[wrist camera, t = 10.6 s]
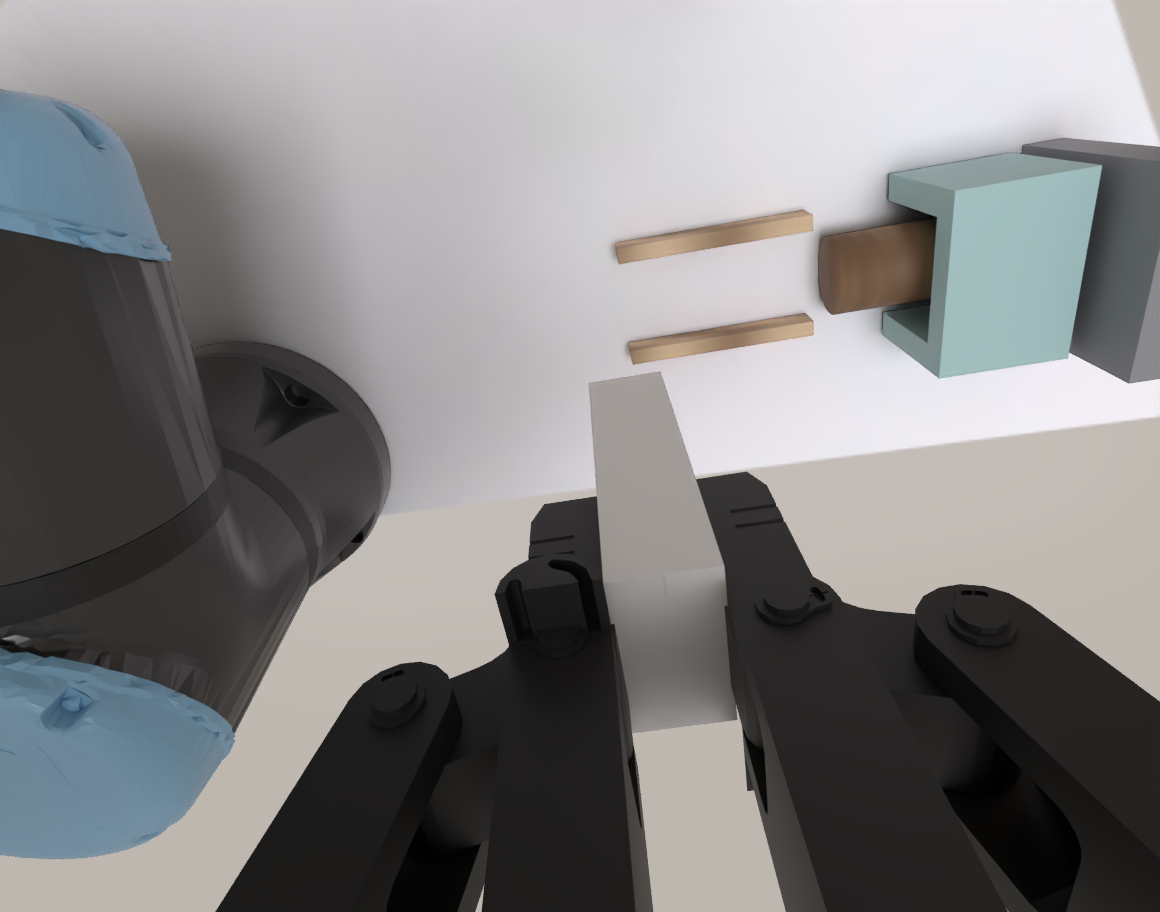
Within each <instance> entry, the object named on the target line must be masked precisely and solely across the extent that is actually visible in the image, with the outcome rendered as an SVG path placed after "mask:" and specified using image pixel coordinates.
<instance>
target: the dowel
mask: <svg viewBox="0 0 1160 912" xmlns="http://www.w3.org/2000/svg"><path fill="white" fill-rule="evenodd" d="M936 226H937V218H931V219H925V220H919V221H913V222H908V223H902V224H896V225H890V226H884V227H878V228H873V229H867V230H861V231H855V232H849V233H843V234H838V235H832V236H826V237H825V238H824V239H823V240H822V242H821V244H820V248H819V252H818V283H819V289H820V294H821V297H822V301H823V303H824V306H825V308H826V309H827V311H828V312H829V313H830V314H832V315H834V314H841V313H847V312H853V311H859V310H865V309H871V308H877V307H883V306H889V305H895V304H902V303H908V302H914V301H920V300H926V299H931V292H932V278H933V265H934V252H935V239H936Z"/></svg>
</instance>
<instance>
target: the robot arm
mask: <svg viewBox="0 0 1160 912" xmlns="http://www.w3.org/2000/svg"><path fill="white" fill-rule="evenodd" d="M168 261H172V258H171V252H170V250H169V247H168V246H167V245H166V244H164V243H163V242H162V241H161V239H160V236H159V234H158V231H157V228H156V225H155V222H154V219H153V217H152V214H151V211H150V208H149V205H148V203H147V200H146V197H145V194H144V191H143V189H142V186H141V183H140V180H139V177H138V174H137V171H136V168H135V165H134V162H133V159H132V157H131V155H130V153H129V151H128V149H127V147H126V146H125V144H124V143H123V141H122V140H121V138H120V137H119V136H118V135H117V134H116V133H115V131H114V130H113V129H112V128H111V127H109V126H108V125H107V124H106V123H105V122H103V121H102V120H101V119H100V118H98V117H97V116H95V115H94V114H92V113H91V112H89V111H87V110H85V109H83V108H81V107H79V106H77V105H74V104H71V103H69V102H66V101H63V100H59V99H55V98H50V97H45V96H39V95H33V94H27V93H21V92H15V91H8V90H1V89H0V855H6V856H14V857H23V858H38V859H76V858H86V857H95V856H100V855H105V854H110V853H115V852H120V851H123V850H127V849H130V848H133V847H135V846H138V845H141V844H143V843H145V842H147V841H149V840H151V839H152V838H154V837H156V836H158V835H160V834H161V833H162V832H163V831H165V830H166V829H167V828H168V827H169V826H171V825H172V824H174V823H176V822H177V821H179V820H180V819H181V818H182V817H183V816H184V815H185V814H186V813H187V811H188V810H189V809H190V808H191V807H192V805H193V804H194V802H195V801H196V799H197V798H198V796H199V794H200V793H201V792H202V790H203V788H204V787H205V785H206V784H207V782H208V781H209V779H210V778H211V776H212V775H213V773H214V772H215V770H216V769H217V767H218V766H219V764H220V763H221V761H222V760H223V759H224V758H225V757H226V756H227V755H228V754H229V752H230V750H231V748H232V746H233V744H234V742H235V740H234V739H233V738H234V737H235V735H234V734H235V732H236V730H237V728H238V726H239V724H240V722H241V720H242V718H243V716H244V714H245V712H246V710H247V708H248V706H249V704H250V702H251V701H252V698H253V697H254V695H255V693H256V691H257V689H258V687H259V685H260V683H261V681H262V679H263V677H264V675H265V673H266V671H267V669H268V667H269V665H270V663H271V661H272V659H273V657H274V655H275V654H276V652H277V650H278V648H279V646H280V644H281V642H282V640H283V638H284V636H285V634H286V632H287V630H288V628H289V626H290V624H291V622H292V620H293V618H294V616H295V614H296V612H297V610H298V609H299V607H300V605H301V603H302V601H303V599H304V597H305V595H306V593H307V591H308V589H309V587H310V586H311V585H313V584H314V583H315V582H317V581H318V580H319V579H321V578H322V577H323V576H324V575H326V574H327V573H328V572H330V571H331V570H332V569H333V568H335V567H336V566H337V565H339V564H340V563H341V562H342V561H344V560H345V559H347V558H348V557H349V556H350V555H351V554H353V553H354V552H355V551H356V550H357V549H358V548H359V547H360V546H361V545H362V543H363V542H364V541H365V540H366V538H367V537H368V536H369V534H370V533H371V531H372V529H373V528H374V526H375V524H376V522H377V519H378V517H379V515H380V513H381V511H382V508H383V506H384V504H385V501H386V498H387V495H388V491H389V485H390V460H389V454H388V449H387V446H386V443H385V440H384V437H383V434H382V432H381V430H380V428H379V425H378V424H377V422H376V420H375V418H374V416H373V415H372V413H371V412H370V410H369V409H368V408H367V406H366V405H365V404H364V402H363V401H362V400H361V399H360V398H359V396H358V395H357V394H356V393H355V392H354V391H353V390H352V389H351V388H350V387H349V386H348V385H347V384H345V383H344V382H343V381H342V380H341V379H340V378H338V377H337V376H336V375H334V374H333V373H332V372H330V371H329V370H327V369H326V368H324V367H322V366H321V365H319V364H317V363H316V362H314V361H312V360H310V359H308V358H306V357H304V356H301V355H299V354H297V353H294V352H291V351H288V350H286V349H282V348H279V347H275V346H271V345H266V344H260V343H251V342H224V343H217V344H212V345H207V346H203V347H200V348H197V349H194V350H192V349H191V346H190V342H189V339H188V335H187V332H186V328H185V325H184V321H183V317H182V313H181V310H180V306H179V302H178V298H177V295H176V291H175V287H174V283H173V280H172V276H171V272H170V268H169V264H168ZM589 392H590V406H591V420H592V434H593V448H594V462H595V476H596V490H597V496H596V497H589V498H583V499H576V500H569V501H563V502H556V503H550V504H544V506H543V507H542V508H541V510H540V511H539V513H538V514H537V515H536V517H535V518H534V520H533V521H532V522H531V532H530V546H529V556H528V558H529V560H528V561H526V562H524V563H522V564H520V565H518V566H517V567H514V568H513V569H512V570H511V571H510V572H509V573H508V574H507V575H506V576H505V577H504V578H503V579H502V580H500V583H499V585H498V587H497V590H496V593H495V597H496V600H497V604H498V608H499V611H500V615H501V618H502V622H503V625H504V628H505V632H506V636H507V639H508V642H509V647H508V648H507V650H506V651H505V652H504V653H502V654H501V655H499V656H498V657H497V658H495V659H494V660H492V661H491V662H489V663H487V664H484V665H482V666H480V667H478V668H476V669H474V670H471V671H469V672H466V673H463V674H461V675H458V676H456V677H453V678H451V679H449V677H448V675H447V674H446V673H444V672H443V671H442V670H441V669H440V668H439V667H438V666H436V665H432V664H427V663H423V662H415V663H404V664H399V665H397V666H394V667H391V668H389V669H386V670H384V671H381V672H380V673H378V674H377V675H375V676H374V677H372V678H371V679H370V680H368V681H367V682H365V683H364V684H362V686H361V687H360V688H359V689H358V690H357V691H356V693H355V694H354V695H353V696H352V697H351V698H350V700H349V701H348V703H347V704H346V706H345V707H344V709H343V711H342V712H341V714H340V715H339V717H338V718H337V720H336V722H335V723H334V725H333V726H332V728H331V730H330V731H329V733H328V734H327V736H326V737H325V739H324V741H323V742H322V744H321V746H320V747H319V748H318V750H317V752H316V753H315V755H314V756H313V758H312V760H311V761H310V763H309V764H308V766H307V767H306V769H305V771H304V772H303V774H302V776H301V777H300V779H299V780H298V782H297V784H296V785H295V787H294V788H293V790H292V791H291V793H290V794H289V796H288V798H287V799H286V801H285V802H284V804H283V806H282V807H281V809H280V810H279V812H278V814H277V815H276V817H275V818H274V820H273V821H272V823H271V825H270V826H269V828H268V829H267V831H266V832H265V834H264V836H263V837H262V839H261V841H260V842H259V844H258V845H257V847H256V848H255V850H254V852H253V853H252V855H251V856H250V858H249V859H248V861H247V863H246V864H245V866H244V867H243V869H242V870H241V872H240V874H239V875H238V877H237V879H236V880H235V882H234V883H233V885H232V886H231V888H230V890H229V891H228V893H227V894H226V896H225V898H224V899H223V901H222V902H221V904H220V905H219V907H218V909H217V910H216V912H475V910H476V908H477V904H478V901H479V898H480V895H481V892H482V889H483V886H484V894H483V904H482V912H653V906H652V896H651V887H650V877H649V869H648V859H647V849H646V840H645V831H644V821H643V812H642V803H641V793H640V784H639V774H638V766H637V761H636V756H635V750H634V745H633V738H632V733H637V732H645V731H653V730H661V729H668V728H676V727H684V726H691V725H700V724H708V723H715V722H723V721H731V720H737V712H736V705H737V709H738V712H739V716H740V720H741V723H742V728H743V741H744V754H745V766H746V777H747V778H746V779H747V791H751V790H754V792H755V796H756V799H757V803H758V807H759V811H760V815H761V818H762V822H763V826H764V830H765V833H766V837H767V841H768V845H769V849H770V853H771V856H772V860H773V864H774V868H775V872H776V875H777V879H778V883H779V887H780V890H781V894H782V898H783V902H784V905H785V910H786V912H1008V911H1009V912H1160V702H1159V701H1158V700H1157V699H1156V698H1154V697H1153V696H1151V695H1150V694H1149V693H1147V692H1146V691H1145V690H1143V689H1142V688H1141V687H1139V686H1138V685H1137V684H1135V683H1134V682H1133V681H1131V680H1130V679H1129V678H1127V677H1126V676H1125V675H1123V674H1122V673H1121V672H1119V671H1118V670H1116V669H1115V668H1114V667H1113V666H1111V665H1110V664H1109V663H1107V662H1106V661H1105V660H1103V659H1102V658H1100V657H1099V656H1098V655H1096V654H1095V653H1094V652H1092V651H1091V650H1090V649H1088V648H1087V647H1086V646H1084V645H1083V644H1082V643H1080V642H1079V641H1077V640H1076V639H1075V638H1074V637H1072V636H1071V635H1070V634H1068V633H1067V632H1066V631H1064V630H1063V629H1062V628H1060V627H1059V626H1058V625H1056V624H1055V623H1053V622H1052V621H1051V620H1049V619H1048V618H1047V617H1045V616H1044V615H1043V614H1041V613H1040V612H1039V611H1037V610H1036V609H1034V608H1033V607H1032V606H1030V605H1029V604H1027V603H1025V602H1024V601H1022V600H1020V599H1018V598H1016V597H1015V596H1013V595H1011V594H1009V593H1006V592H1003V591H999V590H996V589H993V588H989V587H986V586H976V585H962V584H959V585H953V586H947V587H941V588H938V589H936V590H934V591H932V592H930V593H928V594H927V595H925V596H923V598H922V600H921V601H920V603H919V604H918V606H917V607H916V610H915V614H906V613H895V612H884V611H876V610H870V609H864V608H859V607H856V606H853V605H850V604H847V603H844V602H842V600H841V598H840V597H839V596H838V595H837V594H836V592H835V591H834V590H833V589H832V588H831V587H830V586H829V585H827V584H826V583H824V582H822V581H820V580H818V579H816V578H814V577H813V576H812V574H811V572H810V570H809V568H808V566H807V564H806V562H805V560H804V558H803V556H802V554H801V552H800V550H799V549H798V547H797V544H796V542H795V541H794V538H793V536H792V534H791V533H790V531H789V529H788V527H787V525H786V523H785V522H784V520H783V517H782V515H781V513H780V511H779V509H778V507H776V503H775V501H774V499H773V497H772V495H771V493H770V491H769V489H768V487H767V485H765V484H764V483H762V482H761V481H760V480H758V479H757V478H755V477H754V476H752V475H751V474H749V473H748V472H742V473H735V474H728V475H722V476H715V477H709V478H702V479H696V478H695V475H694V472H693V469H692V466H691V463H690V460H689V457H688V454H687V451H686V448H685V445H684V442H683V439H682V436H681V433H680V430H679V427H678V424H677V421H676V418H675V415H674V411H673V408H672V405H671V402H670V399H669V396H668V393H667V390H666V387H665V384H664V381H663V378H662V375H661V372H654V373H648V374H642V375H636V376H629V377H623V378H617V379H611V380H605V381H598V382H592V383H589ZM484 883H485V884H484ZM1005 907H1006V908H1005ZM1006 909H1007V910H1008V911H1007V910H1006Z"/></svg>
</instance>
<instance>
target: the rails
mask: <svg viewBox="0 0 1160 912" xmlns="http://www.w3.org/2000/svg"><path fill="white" fill-rule="evenodd" d="M809 231H813V214H811V213H809V212H807V211H805V210H801V211H795V212H790V213H784V214H778V215H772V216H767V217H761V218H755V219H749V220H744V221H738V222H732V223H726V224H721V225H715V226H709V227H703V228H698V229H692V230H686V231H681V232H675V233H669V234H663V235H658V236H652V237H646V238H640V239H635V240H629V241H623V242H617V243H615V246H616V253H617V259H618V262H619V264H623V263H629V262H635V261H640V260H646V259H652V258H658V257H664V256H669V255H675V254H681V253H687V252H693V251H698V250H704V249H710V248H716V247H722V246H727V245H733V244H739V243H745V242H751V241H757V240H762V239H768V238H774V237H780V236H786V235H791V234H797V233H803V232H809ZM812 335H814V321H813V320H812V319H811V318H810V317H809V316H808V315H806V314H805V313H804V314H798V315H792V316H786V317H780V318H773V319H767V320H761V321H755V322H749V323H743V324H737V325H731V326H725V327H719V328H713V329H707V330H701V331H695V332H688V333H682V334H676V335H670V336H664V337H658V338H652V339H646V340H640V341H634V342H629V347H630V354H631V359H632V363H633V364H640V363H646V362H652V361H658V360H664V359H670V358H677V357H683V356H689V355H695V354H701V353H707V352H713V351H720V350H726V349H732V348H738V347H744V346H750V345H757V344H763V343H769V342H775V341H781V340H787V339H794V338H800V337H806V336H812Z"/></svg>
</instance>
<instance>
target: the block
mask: <svg viewBox="0 0 1160 912" xmlns="http://www.w3.org/2000/svg"><path fill="white" fill-rule="evenodd" d="M1101 170H1102V165H1097V164H1090V163H1083V162H1076V161H1068V160H1061V159H1054V158H1047V157H1039V156H1032V155H1025V154H1018V153H1005V154H999V155H994V156H988V157H982V158H977V159H971V160H965V161H960V162H954V163H948V164H943V165H937V166H931V167H926V168H920V169H914V170H909V171H903V172H897V173H891V174H890V176H889V199H888V201H891V202H894V203H897V204H900V205H903V206H906V207H909V208H912V209H915V210H918V211H921V212H924V213H927V214H929V215H932V216H935V217H937V226H936V239H935V252H934V265H933V278H932V292H931V305H927V306H921V307H915V308H909V309H902V310H896V311H890V312H884V314H883V335H884V336H885V337H886V338H887V339H889V340H890V341H891V342H893V343H894V344H895V345H896V346H898V347H899V348H900V349H902V350H903V351H904V352H906V353H907V354H908V355H909V356H911V357H912V358H913V359H915V360H916V361H917V362H918V363H920V364H921V365H922V366H924V367H925V368H926V369H927V370H929V371H930V372H931V373H933V374H934V375H935V376H937V377H938V378H945V377H952V376H958V375H965V374H971V373H977V372H984V371H990V370H997V369H1003V368H1009V367H1016V366H1022V365H1028V364H1035V363H1041V362H1048V361H1054V360H1060V359H1067V358H1068V355H1069V349H1070V343H1071V338H1072V332H1073V327H1074V321H1075V315H1076V310H1077V304H1078V299H1079V293H1080V288H1081V282H1082V276H1083V271H1084V265H1085V260H1086V254H1087V248H1088V243H1089V237H1090V232H1091V226H1092V220H1093V215H1094V209H1095V204H1096V198H1097V193H1098V187H1099V181H1100V176H1101Z"/></svg>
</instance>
